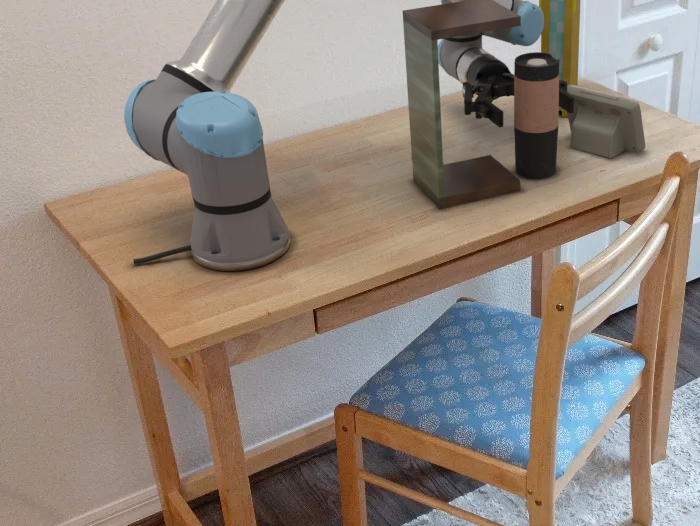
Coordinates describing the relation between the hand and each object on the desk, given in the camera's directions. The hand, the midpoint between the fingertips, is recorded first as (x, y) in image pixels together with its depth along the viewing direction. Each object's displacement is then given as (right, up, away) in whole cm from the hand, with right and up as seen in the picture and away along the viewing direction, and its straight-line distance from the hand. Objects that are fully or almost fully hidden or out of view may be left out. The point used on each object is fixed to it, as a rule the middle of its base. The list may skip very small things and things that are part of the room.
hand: (537, 112), depth 172 cm
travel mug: (0, -9, +6) cm, 11 cm away
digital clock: (+13, -3, +15) cm, 20 cm away
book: (+7, +11, +34) cm, 36 cm away
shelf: (-12, -12, +2) cm, 17 cm away
